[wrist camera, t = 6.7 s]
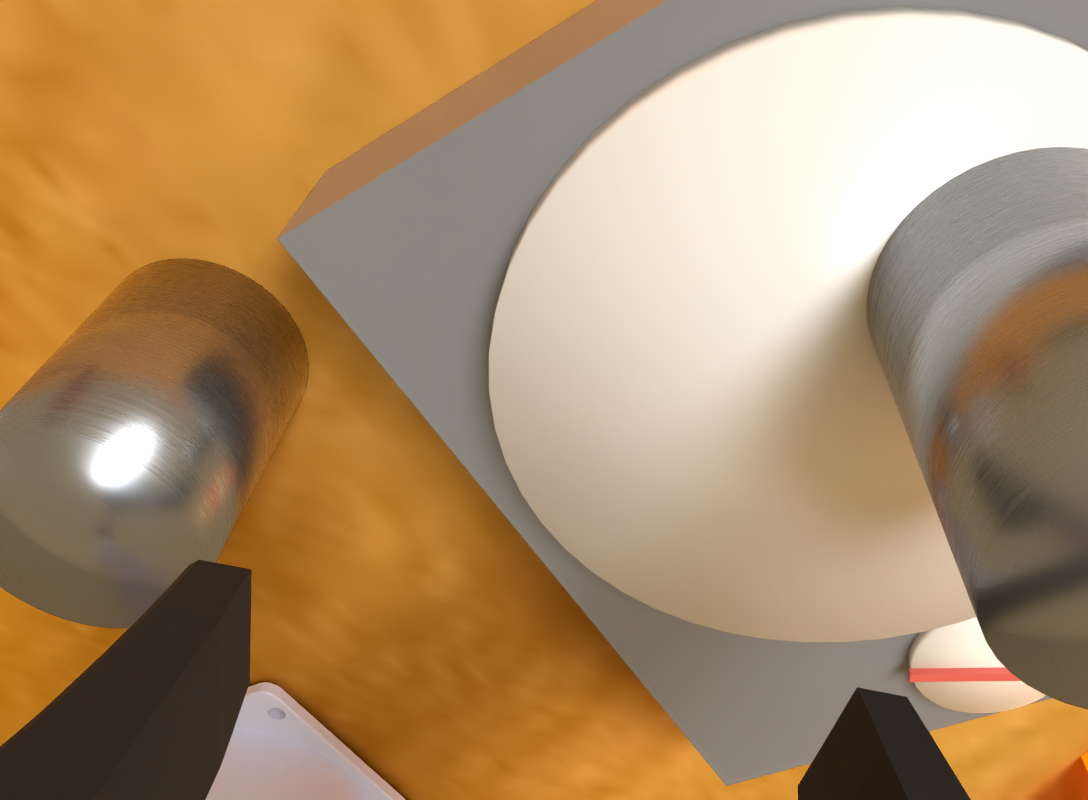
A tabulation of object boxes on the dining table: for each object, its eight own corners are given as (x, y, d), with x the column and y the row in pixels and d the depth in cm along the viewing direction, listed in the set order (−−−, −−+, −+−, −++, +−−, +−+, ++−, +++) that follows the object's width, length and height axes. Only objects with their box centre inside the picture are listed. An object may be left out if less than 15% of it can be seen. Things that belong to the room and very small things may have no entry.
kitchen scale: (1298, 505, 21) (1412, 640, 18) (718, 686, 26) (728, 815, 23) (1089, -311, 13) (1225, -325, 10) (325, 171, 18) (261, 260, 15)
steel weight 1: (349, 383, 21) (260, 578, 16) (206, 458, 23) (87, 656, 18) (210, 221, 19) (61, 389, 14) (64, 317, 21) (-114, 496, 16)
